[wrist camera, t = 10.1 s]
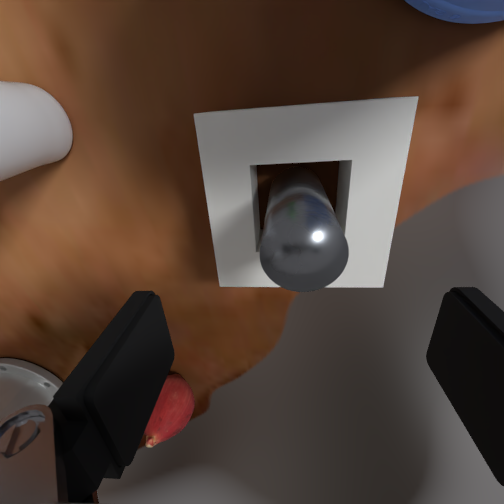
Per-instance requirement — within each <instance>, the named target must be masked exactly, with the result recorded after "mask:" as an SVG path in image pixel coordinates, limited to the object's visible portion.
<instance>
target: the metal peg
mask: <svg viewBox="0 0 504 504" xmlns="http://www.w3.org/2000/svg"><path fill="white" fill-rule="evenodd" d="M348 257H349V247H348V243H347V240H346V238H345V235H344V233H343V231H342V229H341V226H340V224H339V222H338V220H337V217H336V215H335V213H334V211H333V208H332V206H331V204H330V202H329V199H328V197H327V195H326V193H325V190H324V188H323V186H322V184H321V181H320V179H319V178H318V176H317V175H316V174H315V173H314V172H313V171H311V170H310V169H308V168H305V167H300V166H295V167H290V168H287V169H285V170H283V171H281V172H280V173H279V174H278V175H277V176H276V177H275V178H274V180H273V182H272V184H271V188H270V193H269V199H268V205H267V211H266V217H265V223H264V229H263V235H262V241H261V246H260V262H261V266H262V268H263V270H264V272H265V273H266V275H267V276H268V277H269V279H271V280H272V281H273V282H274V283H275V284H277V285H279V286H280V287H282V288H285V289H288V290H291V291H297V292H309V291H315V290H318V289H321V288H324V287H326V286H328V285H329V284H331V283H332V282H334V281H335V280H336V279H337V278H338V277H339V276H340V275H341V274H342V272H343V271H344V269H345V267H346V265H347V262H348Z"/></svg>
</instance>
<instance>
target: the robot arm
mask: <svg viewBox="0 0 504 504" xmlns="http://www.w3.org/2000/svg"><path fill="white" fill-rule="evenodd" d="M426 358H427V363H428V365H429V367H430V369H431V370H432V372H433V373H434V375H435V377H436V379H437V380H438V382H439V384H440V385H441V387H442V389H443V390H444V392H445V394H446V395H447V397H448V399H449V400H450V402H451V404H452V406H453V407H454V409H455V411H456V412H457V414H458V416H459V417H460V419H461V421H462V422H463V424H464V426H465V427H466V429H467V431H468V432H469V434H470V436H471V438H472V439H473V441H474V443H475V444H476V446H477V447H478V449H479V451H480V453H481V454H482V456H483V458H484V459H485V461H486V463H487V464H488V466H489V468H490V469H491V471H492V473H493V475H494V476H495V478H496V479H497V481H498V482H499V483H500V484H501V485H502V486H504V312H503V311H502V310H501V309H500V308H499V307H498V306H496V304H494V303H493V302H492V301H491V300H490V299H489V298H488V297H487V296H485V295H484V294H483V293H482V292H481V291H480V290H478V289H477V288H475V287H454V288H452V289H451V290H450V291H449V292H447V293H445V295H444V297H443V300H442V304H441V307H440V310H439V314H438V317H437V320H436V324H435V327H434V330H433V334H432V337H431V340H430V344H429V347H428V350H427V355H426ZM173 360H174V348H173V345H172V341H171V337H170V334H169V330H168V326H167V322H166V319H165V315H164V311H163V308H162V304H161V300H160V297H159V296H158V295H155V293H154V292H153V291H135V292H134V293H133V294H132V295H131V297H130V298H129V299H128V301H127V302H126V303H125V304H124V306H123V307H122V308H121V309H120V311H119V312H118V313H117V315H116V316H115V317H114V318H113V320H112V321H111V322H110V324H109V325H108V326H107V327H106V329H105V330H104V331H103V333H102V334H101V335H100V336H99V338H98V339H97V340H96V342H95V343H94V344H93V345H92V347H91V348H90V349H89V351H88V352H87V353H86V354H85V356H84V357H83V358H82V360H81V361H80V362H79V363H78V365H77V366H76V367H75V369H74V370H73V371H72V372H71V374H70V375H69V376H68V378H67V379H66V380H65V381H64V383H63V382H62V381H61V380H60V379H59V378H57V377H56V376H55V375H53V374H52V373H50V372H49V371H47V370H45V369H43V368H42V367H39V366H37V365H35V364H32V363H29V362H26V361H23V360H18V359H13V358H0V504H99V499H98V493H97V489H98V487H99V485H100V483H101V481H102V479H103V478H114V479H120V478H121V475H122V473H123V471H124V468H125V466H129V465H130V464H131V462H132V461H133V458H134V456H135V454H136V451H137V449H138V446H139V444H140V441H141V439H142V437H143V434H144V432H145V429H146V427H147V424H148V422H149V419H150V417H151V415H152V412H153V410H154V407H155V405H156V402H157V400H158V397H159V395H160V393H161V390H162V388H163V385H164V383H165V380H166V378H167V375H168V373H169V371H170V368H171V366H172V363H173Z"/></svg>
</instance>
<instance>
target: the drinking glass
mask: <svg viewBox="0 0 504 504" xmlns="http://www.w3.org/2000/svg"><path fill="white" fill-rule="evenodd" d="M72 142H73V131H72V126H71V123H70V120H69V118H68V116H67V114H66V112H65V110H64V109H63V107H62V106H61V105H60V104H59V102H58V101H57V100H56V99H55V98H54V97H53V96H51V95H50V94H49V93H48V92H46V91H45V90H43V89H41V88H39V87H37V86H34V85H31V84H28V83H21V82H8V81H0V181H3V180H5V179H8V178H11V177H13V176H16V175H18V174H21V173H23V172H26V171H29V170H31V169H34V168H37V167H39V166H42V165H46V164H50V163H54V162H57V161H59V160H61V159H62V158H64V157H65V156H66V155H67V154H68V152H69V151H70V149H71V146H72Z"/></svg>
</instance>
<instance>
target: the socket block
mask: <svg viewBox="0 0 504 504" xmlns="http://www.w3.org/2000/svg"><path fill="white" fill-rule="evenodd" d="M418 97H419V96H414V97H390V98H378V99H365V100H352V101H339V102H326V103H313V104H300V105H288V106H275V107H262V108H249V109H236V110H223V111H210V112H203V113H195V114H194V121H195V127H196V134H197V140H198V147H199V153H200V160H201V167H202V173H203V180H204V186H205V193H206V199H207V206H208V213H209V219H210V226H211V232H212V239H213V245H214V252H215V259H216V265H217V272H218V278H219V285H220V287H280V286H279V285H277V284H275V283H274V282H273V281H272V280H271V279H269V277H268V276H267V275H266V273H265V272H264V270H263V268H262V266H261V262H260V246H261V241H262V235H263V229H260V216H259V200H258V183H257V167H256V165H263V164H282V163H302V162H321V161H339V172H338V185H337V199H336V212H335V215H336V217H337V220H338V222H339V224H340V226H341V229H342V231H343V233H344V235H345V238H346V240H347V243H348V247H349V257H348V262H347V265H346V267H345V269H344V271H343V272H342V274H341V275H340V276H339V277H338V278H337V279H336V280H335V281H334V282H332V283H331V284H329V285H328V286H326V287H383V284H384V278H385V274H386V268H387V263H388V258H389V252H390V247H391V242H392V235H393V231H394V226H395V220H396V215H397V209H398V204H399V199H400V193H401V188H402V183H403V177H404V172H405V167H406V161H407V156H408V150H409V145H410V140H411V134H412V129H413V124H414V118H415V113H416V107H417V102H418Z"/></svg>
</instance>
